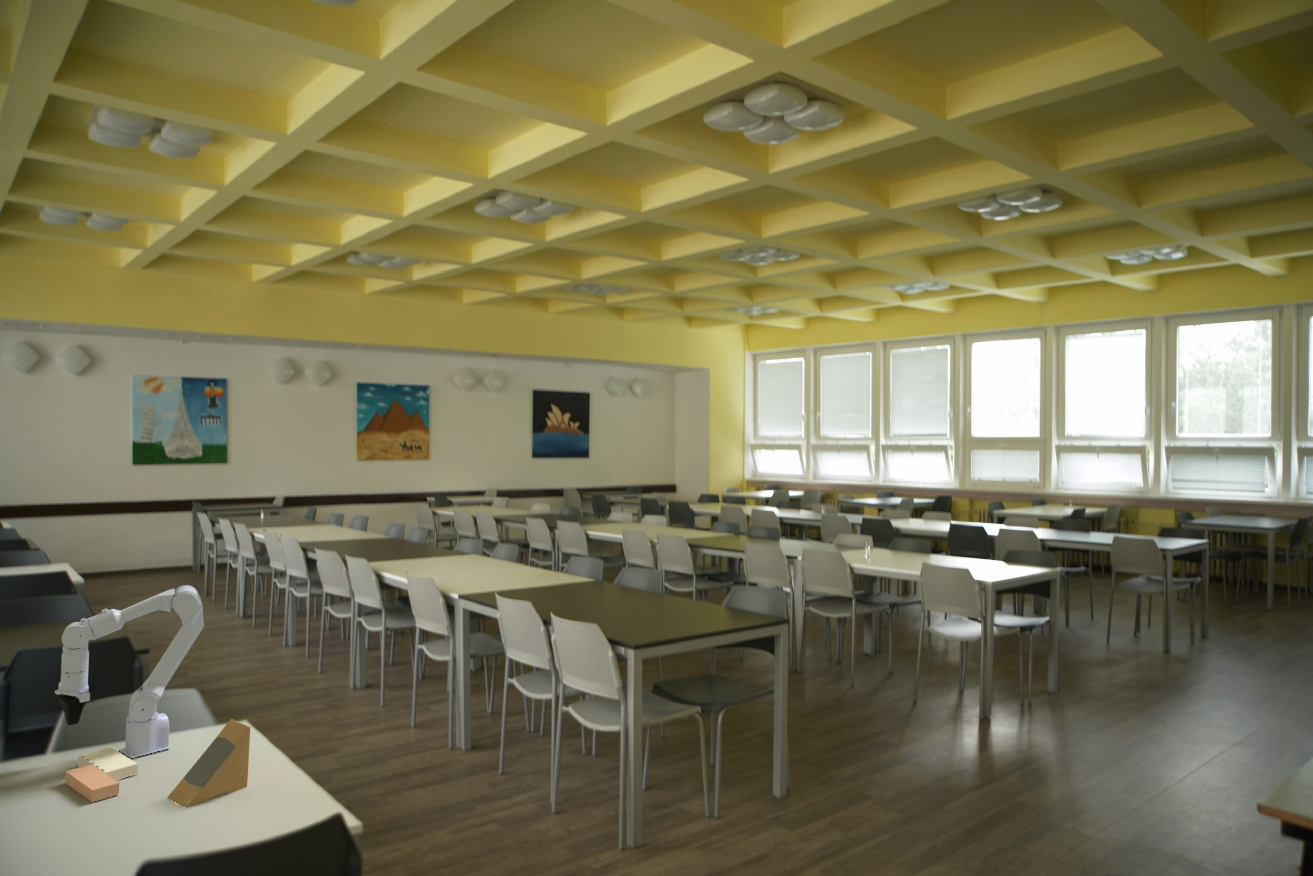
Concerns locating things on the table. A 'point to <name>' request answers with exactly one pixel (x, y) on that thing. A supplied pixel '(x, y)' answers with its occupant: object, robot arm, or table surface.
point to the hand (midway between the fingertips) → (72, 724)
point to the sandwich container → (217, 768)
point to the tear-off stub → (91, 783)
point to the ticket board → (109, 763)
